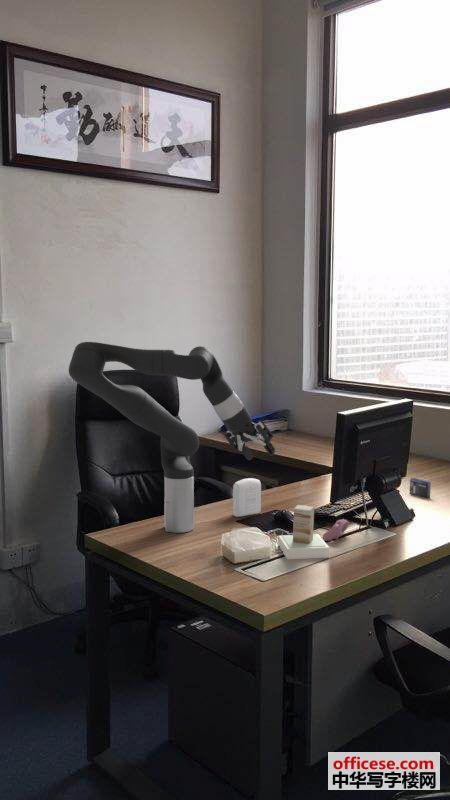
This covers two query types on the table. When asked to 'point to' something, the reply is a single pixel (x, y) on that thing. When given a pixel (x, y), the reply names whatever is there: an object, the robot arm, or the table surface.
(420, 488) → the mini dv tape
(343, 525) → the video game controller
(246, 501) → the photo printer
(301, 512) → the skincare box
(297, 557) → the plinth
